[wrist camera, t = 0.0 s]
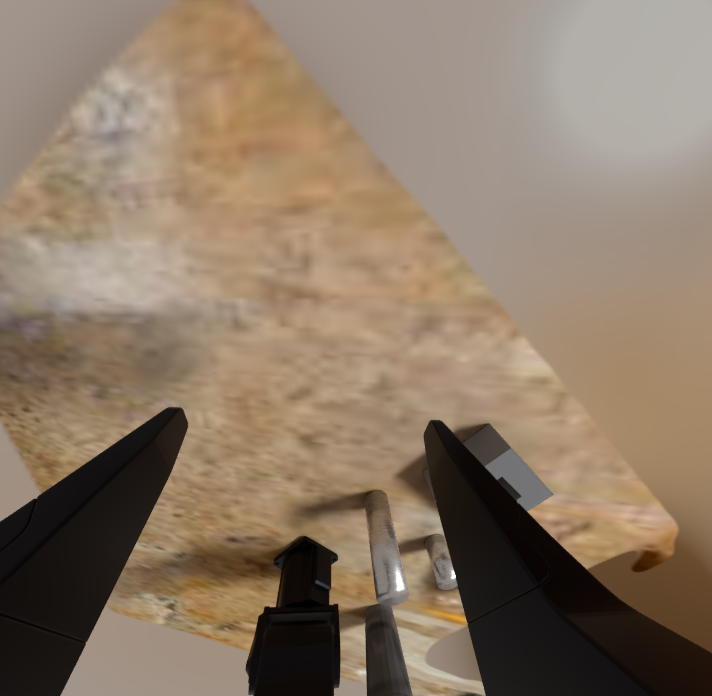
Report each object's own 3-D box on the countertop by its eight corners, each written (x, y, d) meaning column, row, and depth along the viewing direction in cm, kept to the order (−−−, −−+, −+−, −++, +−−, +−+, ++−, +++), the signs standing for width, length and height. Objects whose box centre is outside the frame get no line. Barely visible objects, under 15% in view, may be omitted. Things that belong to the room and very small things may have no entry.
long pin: (374, 510, 34) (390, 609, 25) (359, 499, 33) (369, 598, 24) (391, 497, 33) (414, 594, 24) (376, 486, 32) (394, 582, 23)
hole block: (466, 508, 35) (482, 539, 32) (422, 471, 32) (434, 501, 28) (529, 467, 33) (553, 494, 30) (489, 423, 30) (511, 448, 26)
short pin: (432, 550, 38) (446, 592, 33) (420, 541, 37) (433, 584, 32) (448, 540, 37) (465, 581, 33) (436, 531, 36) (452, 572, 32)
